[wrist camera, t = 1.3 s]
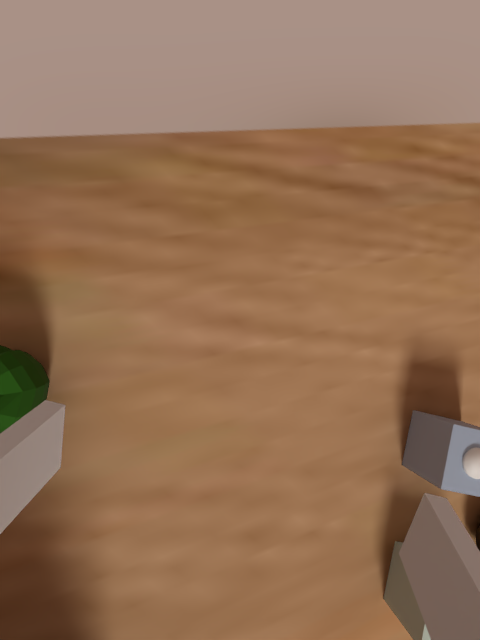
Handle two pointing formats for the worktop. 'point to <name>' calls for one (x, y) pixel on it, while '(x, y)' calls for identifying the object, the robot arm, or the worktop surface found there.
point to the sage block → (404, 598)
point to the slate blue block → (444, 452)
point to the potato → (478, 538)
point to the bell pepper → (19, 385)
